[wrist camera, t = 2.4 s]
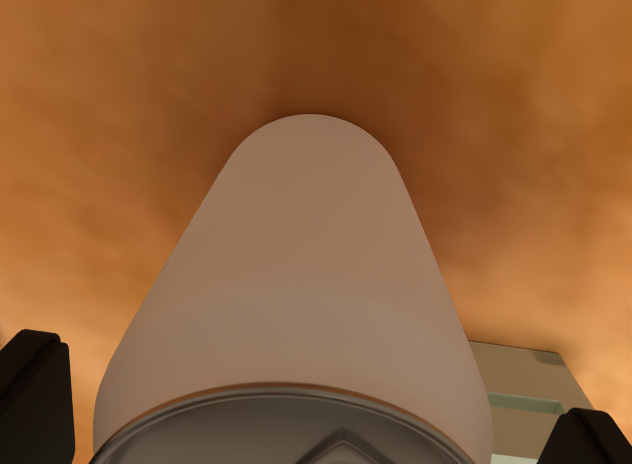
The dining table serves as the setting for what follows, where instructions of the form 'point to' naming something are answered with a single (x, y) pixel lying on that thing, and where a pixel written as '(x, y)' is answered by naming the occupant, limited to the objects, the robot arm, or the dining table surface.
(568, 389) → the tray
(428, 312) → the can
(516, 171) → the dining table surface
